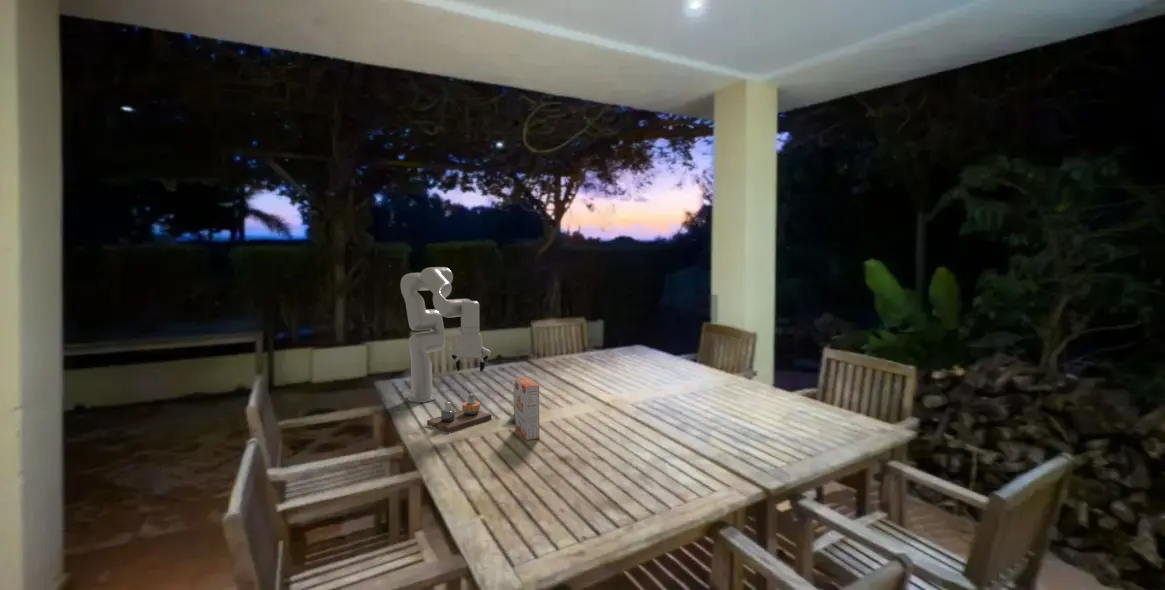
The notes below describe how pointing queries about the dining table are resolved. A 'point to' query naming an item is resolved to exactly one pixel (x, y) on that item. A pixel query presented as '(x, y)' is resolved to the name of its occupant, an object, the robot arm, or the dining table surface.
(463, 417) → the base board
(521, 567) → the dining table surface
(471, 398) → the hub
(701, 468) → the dining table surface
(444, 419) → the gray oval domed knob
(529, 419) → the cracker box
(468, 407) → the ring
